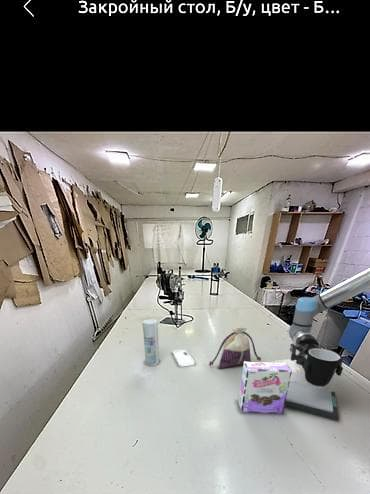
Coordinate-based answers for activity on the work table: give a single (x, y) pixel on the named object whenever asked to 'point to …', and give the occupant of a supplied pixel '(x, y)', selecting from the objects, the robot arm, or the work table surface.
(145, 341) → the spray can
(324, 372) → the mug
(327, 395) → the scale
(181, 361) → the phone case
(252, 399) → the candy box
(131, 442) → the work table surface
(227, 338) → the pouch
